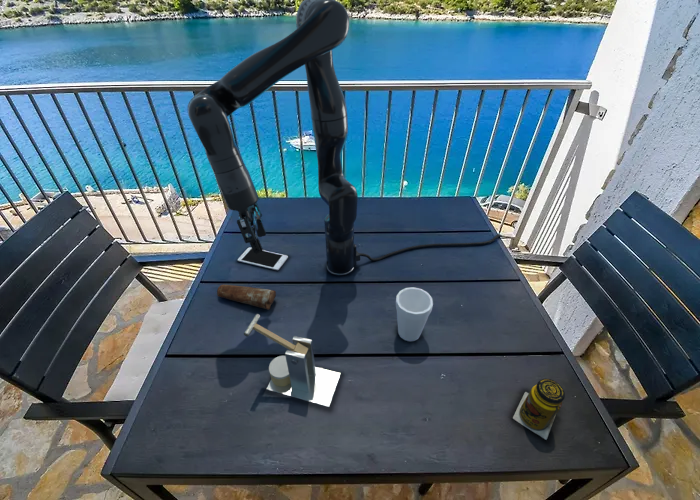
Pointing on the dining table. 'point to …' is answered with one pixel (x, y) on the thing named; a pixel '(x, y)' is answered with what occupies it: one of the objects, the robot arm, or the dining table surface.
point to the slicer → (307, 377)
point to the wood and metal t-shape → (274, 336)
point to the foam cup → (412, 312)
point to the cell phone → (263, 259)
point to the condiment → (540, 407)
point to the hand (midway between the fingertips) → (260, 243)
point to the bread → (247, 295)
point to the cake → (279, 371)
